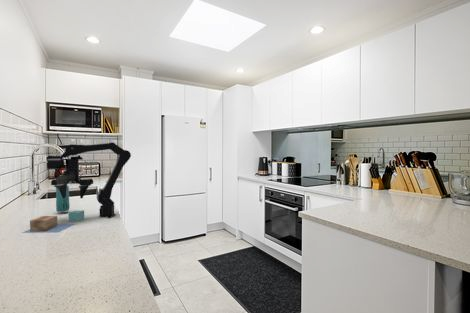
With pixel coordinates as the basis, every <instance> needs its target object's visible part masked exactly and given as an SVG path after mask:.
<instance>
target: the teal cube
mask: <svg viewBox="0 0 470 313" xmlns="http://www.w3.org/2000/svg"><path fill="white" fill-rule="evenodd" d="M67 215H68V222H80V221H81V220H84V219H85V210H82V209H81V210H79V209H77V210H76V209H75V210H72V211H70V212H68V213H67Z"/></svg>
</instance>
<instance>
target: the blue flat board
mask: <svg viewBox="0 0 470 313" xmlns="http://www.w3.org/2000/svg"><path fill="white" fill-rule="evenodd" d="M74 225H76V223H57V227H55V228H52V229H50V230H48V231H30V229H27V230H24V231H22V232H21V234H26V233H27V234H31V233H32V234H35V233H36V234H37V233H40V234H43V233H60V232H62V231H64V230H66V229H68V228H70V227H73V226H74Z"/></svg>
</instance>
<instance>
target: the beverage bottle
mask: <svg viewBox="0 0 470 313" xmlns="http://www.w3.org/2000/svg"><path fill="white" fill-rule="evenodd" d="M55 195H56V196H55V197H56V198H55V200H56V201H55V202H56V203H55V209H56V210H55V211H56V213H57V212H58V213H61V212H69V211H70V186H69V185H68V184H67V190H66V197H65V198H63V197H62V195H61V193H60V191H59V189H58V188H56V187H55Z"/></svg>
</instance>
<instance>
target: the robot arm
mask: <svg viewBox="0 0 470 313" xmlns="http://www.w3.org/2000/svg"><path fill="white" fill-rule="evenodd" d="M107 150H108V151H109V150H110V151H112V152H113V153H114V154H115V155H117V156H116V160H115V161H116V163H115V165H114V167H113V168H112V171H111V173H110V175H109V177H108V178H107V181H106V183H105V184H104V186H103V187H102V188H101V187H100V188H99V189H98V191H97V193H96V194H95V195H96V200H97V203H99V204H100V206H99V216H98V218H106V219H107V218H108V219H109V218H113V217H115V216H116V213H115V201H114V200H112V199H111V197H112V192H113V188H114V185H115V184H116V182H117V180H118V178H119V176H120V174H121V173H122V172H121V171H122V170H123V168H124V166H125V165H126V164H127V163H128V162H129V160H130V159H131V156H132V153H131V152H130V150H127V149H123V148H122V147H120V146H119V145H117V144H116V143H115V142H111V141H110V142H106V143H94V144H68V145H67V146H65V148H64V152H63V153H61V155H47V158H46V159H47V162H46V169H47V170H61V169H62V168H64V167H65V170H63V172H62V173H63V174H61V175H59V176H57V177H55V179H54V178H53V179H52V180H51V181H50V186H53V187H54V188H55V189H56V188H58V189H59V191H60V193H61V195H62V197H63V198H65V197H66V190H67V185H68V184H71V185H72V184H75V185H76V184H77V185H79V186H78V188H79V198H80V199H83V198H84V196H85V194H86V192H87V190H88V189H89V187H90V186H92V185H93V184H94V180H93V179H92V178H82V179H81V177H80V173H81V171H82V170H81V169H80V161H81V160H84V158H83V157H81V154H85V153H91V152H97V151H98V152H99V151H107ZM76 155H77V156H76ZM68 157H70V158H68ZM64 163H65V164H64Z"/></svg>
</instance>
